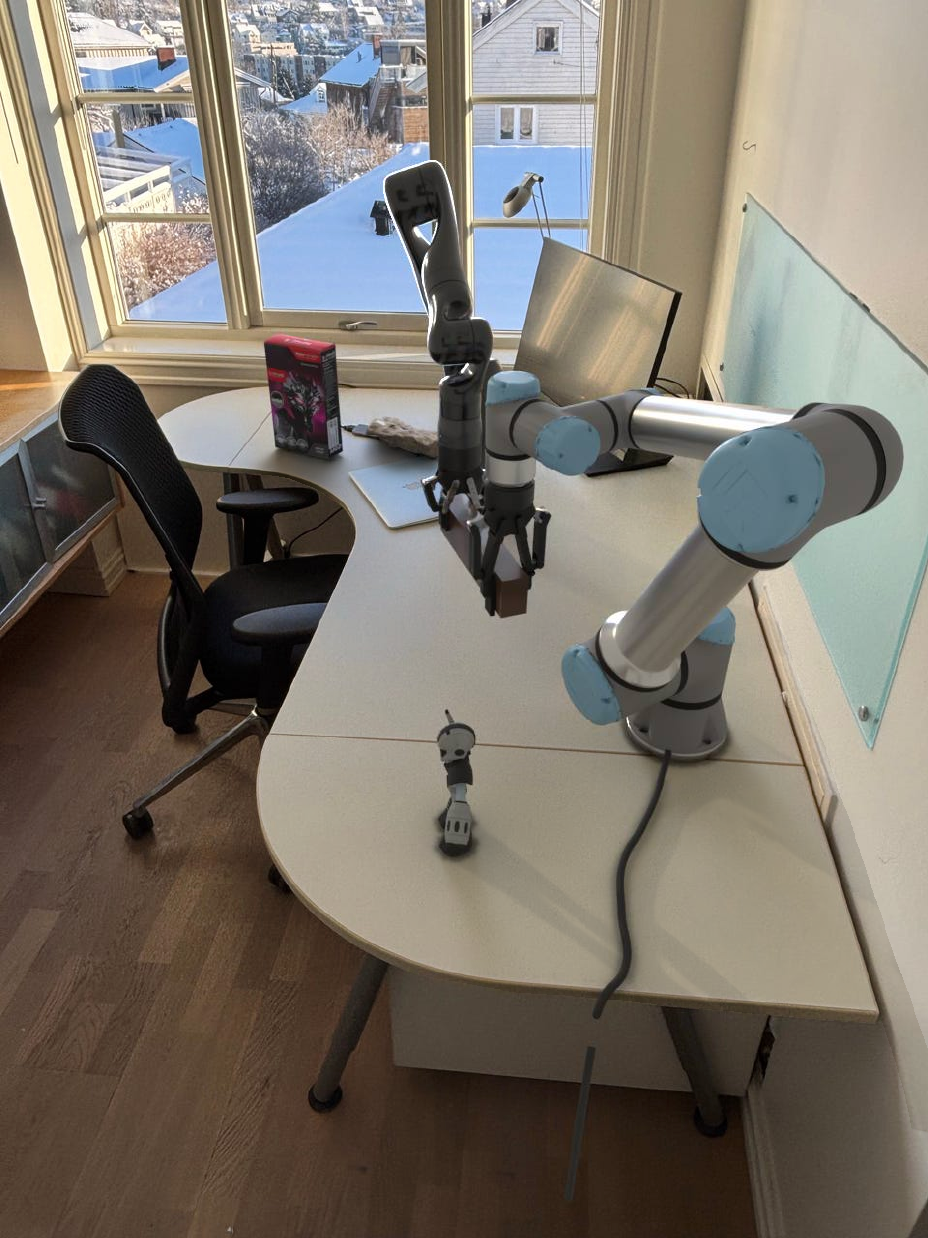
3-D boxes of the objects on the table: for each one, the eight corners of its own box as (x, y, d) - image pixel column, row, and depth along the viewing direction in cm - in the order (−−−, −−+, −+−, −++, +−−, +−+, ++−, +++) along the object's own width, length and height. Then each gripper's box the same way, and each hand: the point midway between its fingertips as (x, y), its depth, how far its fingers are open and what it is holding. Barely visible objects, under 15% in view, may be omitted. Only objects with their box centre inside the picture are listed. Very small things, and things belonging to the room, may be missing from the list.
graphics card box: (273, 448, 231) (260, 339, 216) (289, 438, 236) (278, 332, 221) (329, 461, 225) (320, 351, 210) (345, 451, 230) (337, 342, 215)
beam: (526, 613, 148) (529, 576, 143) (500, 618, 146) (502, 581, 142) (463, 525, 170) (463, 491, 166) (440, 529, 169) (440, 495, 165)
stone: (350, 440, 227) (354, 417, 225) (371, 432, 241) (376, 409, 239) (429, 465, 224) (434, 441, 222) (446, 455, 237) (452, 432, 235)
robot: (478, 890, 117) (481, 774, 106) (439, 891, 117) (438, 775, 106) (469, 781, 133) (471, 671, 122) (436, 782, 133) (434, 671, 122)
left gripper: (491, 424, 161) (488, 511, 170) (412, 435, 157) (414, 523, 166) (507, 441, 155) (503, 530, 165) (426, 452, 151) (427, 543, 161)
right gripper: (554, 460, 143) (546, 589, 155) (445, 475, 138) (446, 606, 151) (574, 479, 137) (564, 611, 149) (461, 496, 132) (461, 631, 145)
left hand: (458, 526), depth 165 cm, fingers closed on beam, 4 cm apart
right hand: (505, 608), depth 150 cm, fingers closed on beam, 5 cm apart
